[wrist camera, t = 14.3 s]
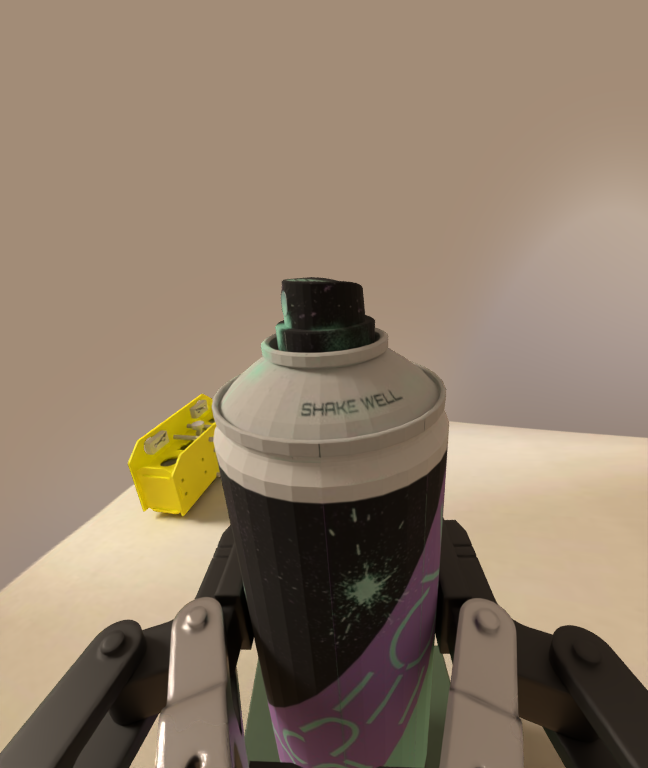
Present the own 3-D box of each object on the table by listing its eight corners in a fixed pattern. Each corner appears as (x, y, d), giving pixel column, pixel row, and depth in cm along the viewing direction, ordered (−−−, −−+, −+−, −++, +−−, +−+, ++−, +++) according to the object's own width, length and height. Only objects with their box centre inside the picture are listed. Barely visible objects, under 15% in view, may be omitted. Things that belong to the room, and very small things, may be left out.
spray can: (261, 796, 14) (129, 292, 7) (340, 674, 18) (308, 269, 11) (378, 954, 11) (355, 299, 4) (445, 762, 15) (496, 263, 8)
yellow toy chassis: (216, 440, 52) (205, 388, 49) (251, 442, 51) (242, 389, 48) (141, 516, 38) (119, 450, 34) (187, 522, 36) (169, 454, 33)
